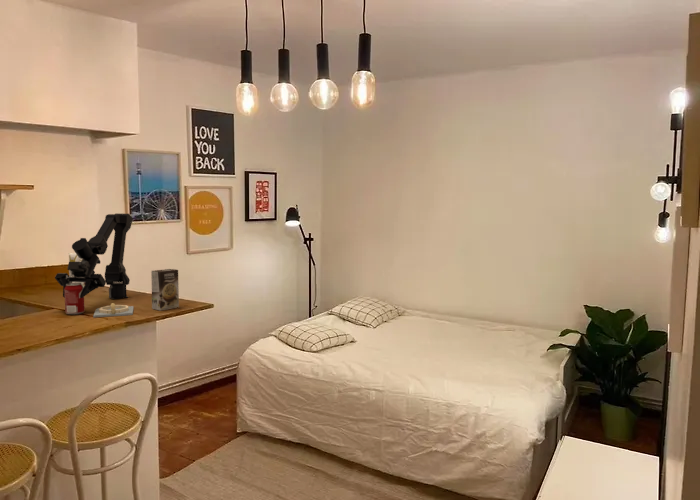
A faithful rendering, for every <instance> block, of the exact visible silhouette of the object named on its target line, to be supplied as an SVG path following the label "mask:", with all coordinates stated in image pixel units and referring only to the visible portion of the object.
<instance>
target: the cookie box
mask: <svg viewBox="0 0 700 500" xmlns="http://www.w3.org/2000/svg"><path fill="white" fill-rule="evenodd" d="M150 273H151V309H152V310H157V311H167V310H170V309H178V308H180V301H179V300H180V296H179V294H180V293H179V292H180V291H179V289H180V288H179V270H178V269H175V268H165V269H156V270H151V271H150ZM177 307H178V308H177Z"/></svg>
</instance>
